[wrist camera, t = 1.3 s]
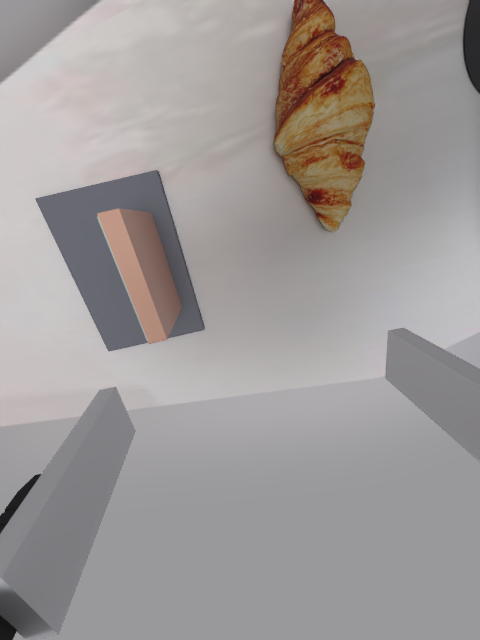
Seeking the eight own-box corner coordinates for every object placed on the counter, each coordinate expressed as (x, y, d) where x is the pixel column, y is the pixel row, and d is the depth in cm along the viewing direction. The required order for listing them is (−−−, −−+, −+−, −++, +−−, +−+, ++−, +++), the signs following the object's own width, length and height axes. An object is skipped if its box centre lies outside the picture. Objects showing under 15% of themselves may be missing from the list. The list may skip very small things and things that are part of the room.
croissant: (338, 222, 35) (396, 214, 28) (286, 246, 31) (340, 242, 24) (310, 22, 27) (385, -58, 20) (235, 20, 23) (296, -80, 16)
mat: (158, 171, 28) (156, 170, 27) (204, 327, 36) (204, 330, 35) (40, 199, 28) (35, 198, 27) (110, 348, 36) (108, 351, 35)
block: (151, 212, 29) (118, 208, 20) (182, 307, 33) (167, 339, 24) (135, 216, 29) (94, 214, 20) (167, 310, 33) (147, 344, 24)
